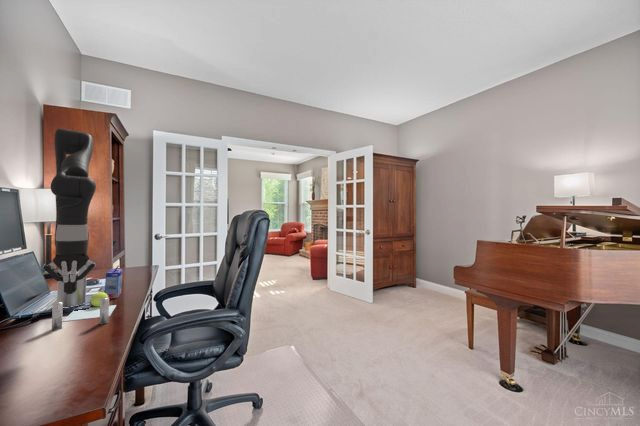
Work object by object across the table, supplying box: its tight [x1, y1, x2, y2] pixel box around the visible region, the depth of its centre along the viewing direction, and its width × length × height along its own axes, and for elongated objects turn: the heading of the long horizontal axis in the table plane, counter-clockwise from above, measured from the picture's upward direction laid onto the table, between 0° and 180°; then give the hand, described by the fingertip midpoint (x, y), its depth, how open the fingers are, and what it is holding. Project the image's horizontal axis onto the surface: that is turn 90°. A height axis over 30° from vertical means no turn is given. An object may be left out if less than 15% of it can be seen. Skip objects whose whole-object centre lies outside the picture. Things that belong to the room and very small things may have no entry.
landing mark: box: [62, 304, 117, 323], centre depth 111 cm, size 14×14×1 cm
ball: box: [90, 291, 108, 307], centre depth 118 cm, size 6×6×6 cm
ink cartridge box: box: [104, 265, 124, 299], centre depth 133 cm, size 10×6×14 cm, turn 27°
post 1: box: [51, 301, 64, 331], centre depth 95 cm, size 3×3×9 cm
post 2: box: [98, 297, 110, 325], centre depth 101 cm, size 3×3×9 cm
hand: (70, 293), depth 87 cm, fingers closed
